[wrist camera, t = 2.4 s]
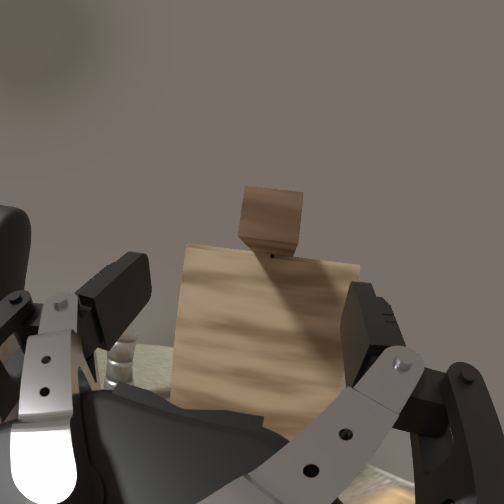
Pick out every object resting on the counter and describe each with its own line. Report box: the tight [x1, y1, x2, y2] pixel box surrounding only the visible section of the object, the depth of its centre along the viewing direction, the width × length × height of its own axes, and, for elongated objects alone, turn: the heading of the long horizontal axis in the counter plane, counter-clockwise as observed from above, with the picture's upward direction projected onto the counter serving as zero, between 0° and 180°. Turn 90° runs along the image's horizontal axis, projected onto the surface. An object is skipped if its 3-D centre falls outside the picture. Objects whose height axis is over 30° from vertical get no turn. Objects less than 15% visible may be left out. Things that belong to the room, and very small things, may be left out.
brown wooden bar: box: [238, 186, 303, 258], centre depth 33 cm, size 28×4×4 cm, turn 174°
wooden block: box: [170, 243, 360, 441], centre depth 36 cm, size 18×18×32 cm
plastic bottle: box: [104, 323, 137, 390], centre depth 51 cm, size 6×7×20 cm
